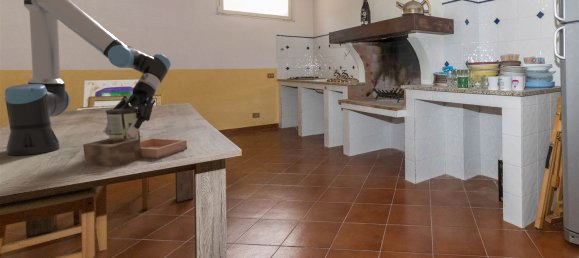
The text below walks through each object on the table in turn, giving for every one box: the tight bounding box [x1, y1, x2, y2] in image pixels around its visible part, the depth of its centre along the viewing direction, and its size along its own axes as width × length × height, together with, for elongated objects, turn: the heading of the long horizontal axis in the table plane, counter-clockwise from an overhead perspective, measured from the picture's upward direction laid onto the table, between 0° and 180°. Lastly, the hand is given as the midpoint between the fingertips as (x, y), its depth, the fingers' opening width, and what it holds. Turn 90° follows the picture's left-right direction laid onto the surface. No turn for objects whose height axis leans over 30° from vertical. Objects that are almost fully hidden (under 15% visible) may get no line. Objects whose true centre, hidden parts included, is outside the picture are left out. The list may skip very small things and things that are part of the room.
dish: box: [140, 137, 188, 160], centre depth 117 cm, size 15×15×3 cm
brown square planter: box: [82, 138, 142, 168], centre depth 106 cm, size 11×11×6 cm
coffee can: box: [105, 107, 141, 140], centre depth 124 cm, size 10×10×14 cm
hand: (117, 134), depth 121 cm, fingers open, 10 cm apart
